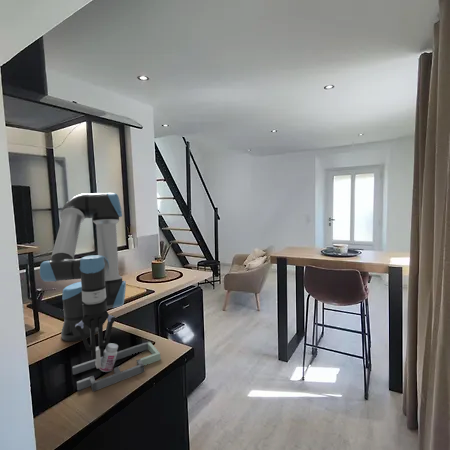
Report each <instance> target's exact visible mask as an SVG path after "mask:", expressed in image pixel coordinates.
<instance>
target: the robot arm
mask: <svg viewBox="0 0 450 450" xmlns="http://www.w3.org/2000/svg"><path fill="white" fill-rule="evenodd" d="M59 217H60V219H61V221H60V224H59V227H58V232H57V235H56V239H55V243H54V246H53V249H52V253H51V256H50V260H44V261H42V262H41V263H40V264H39V265H40V267H39V277H40V279H41V280H42V281H43V282H46V283H47V282H49V283H50V282H61V281H69V280H80V281H78V282H74V283H71V284H69V285H67V286H65V287H64V288H63V289H62V298H61V300H62V304H63V305H62V308H63V316H64V321H63V326H62V329H61V333H60V334H61V335H60V336H61V339H62V341H66V342H78V341H82V342H83V344H84V347H85V350H86V352H88V351H90V352H91V360H94V359H95V365H96V367H95V368H96V369H99V368H101V357H103V355H104V353H103V352H104V350H105V349H104V348H105V347H106V346H107V345H108V344H109V343H110V339H111V335H112V329H113V324H114V322H115V321H116V317H115V316H114V315H113V314H112V315H111V314H110V313H109V312H108V309H115V308H119V307H121V306H123V305H124V303H125V298H126V288H127V287H126V286H127V284H126V283H127V282H126V280H123V276H121V275H120V274H119V273H120V272H119V271H120V270H119V256H118V253H119V252H118V239H117V238H118V236H117V235H118V234H117V224H118V222H120V218H121V217H123V211H122V205H121V201H120V197H119V195H118V194H117V193H115V192H93V193H92V192H91V193H79V194H77V195H74V196H73V197H72V198H70V199H69V200H68V201H67V202H66V203H64V205H63V207H62V208H61V211H60V215H59ZM85 219H92V222H93V223H94V224H95V225H96V239H97V242H96V243H97V254H92V255H91V254H90V255H85V256H83V257H81V258H78V257H77V258H75V253H76V249H77V245H78V239H79V235H80V229H81V226H82V225H81V224H82V223H83V222H84V221H85ZM106 321H107V324H106V329H105V332H104V331H103V330H104V324H105V323H106ZM103 332H104V333H103ZM96 334H97V344H98V346H96V345H97V344H96ZM88 338H89V339H90V340H89V341H90V344H89V342H88Z"/></svg>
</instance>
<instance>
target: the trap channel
mask: <svg viewBox="0 0 450 450" xmlns="http://www.w3.org/2000/svg"><path fill="white" fill-rule="evenodd" d="M147 350H148V351H149V352H150V353H151V354H150V355H147V356H144V357H142V358H138V359H136V365H135V366H132V367H129V368H127V369H125V370H122V371H121V370H120V368H119V366H116V367H113V374H111V375H108V376H104V377H103V378H100V379H98V380H96V379H95V377H94V375H91V376H89V377H86V378H82V379H79V380H78V381H76V387H77V388H76V389H77V391H81V390H83V389H86V388H89V387H90V388H91V391H92V392H96V391H98V390H101V389H103V388H105V387H108V386H111V385H114V384H116V383H120V382H122V381H124V380H126V379H129V378H132V377H134V376H137V375H140V374H142V373H144V372H145V366H148V365H149V364H153V363H156V362H158V361H161V353H160V351H158V349H157V348H156V347H155V346H154V345H153V344H152V342H151V341H147V342H142V343H140V344H137V345H134V346H131V347H127V348H125V349H123V350H119V351H118V350H117V356H116V360H115V361H118V360H121V359H124V358H127V357H129V356H133V355H135V353H136V354H138V352H139V353H141V352H145V351H147ZM132 354H133V355H132ZM101 359H102V357H101ZM147 364H148V365H147ZM144 365H145V366H144ZM95 368H96V365H95V359H91V360H89V361H85V362H82V363H80V364H77V365H76V364H75V365H73V366H72V375H74V376H75V375H77V374H80V373H83V372H86V371H89V370H92V369H95Z"/></svg>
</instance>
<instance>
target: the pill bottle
mask: <svg viewBox="0 0 450 450" xmlns="http://www.w3.org/2000/svg"><path fill="white" fill-rule="evenodd" d="M118 349H119V345H118V344H117V343H115V342H114V343H111V342H109V344H108V345H106V346H105V349H103V353H104V355H103V357H102V359H101V368H98V369H99V370H100V371H101V372H103V373H104V372H105V373H108V372H112V371H113V370H114V366H115V363H116V361H117V360H116V356H117V352H118Z"/></svg>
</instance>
